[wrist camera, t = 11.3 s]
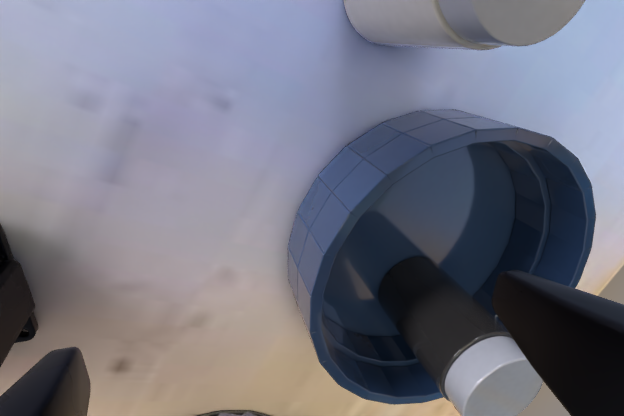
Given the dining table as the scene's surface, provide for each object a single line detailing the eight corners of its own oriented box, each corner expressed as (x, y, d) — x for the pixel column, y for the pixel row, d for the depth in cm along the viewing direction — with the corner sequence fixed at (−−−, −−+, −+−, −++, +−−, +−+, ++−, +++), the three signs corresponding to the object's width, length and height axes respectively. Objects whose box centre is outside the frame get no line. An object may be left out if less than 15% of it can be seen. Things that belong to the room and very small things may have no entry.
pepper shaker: (374, 320, 25) (452, 442, 17) (380, 261, 23) (471, 369, 15) (435, 308, 26) (532, 417, 19) (446, 251, 24) (559, 347, 17)
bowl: (287, 363, 25) (308, 434, 20) (283, 114, 18) (313, 138, 14) (493, 319, 29) (547, 370, 25) (551, 103, 22) (639, 120, 18)
